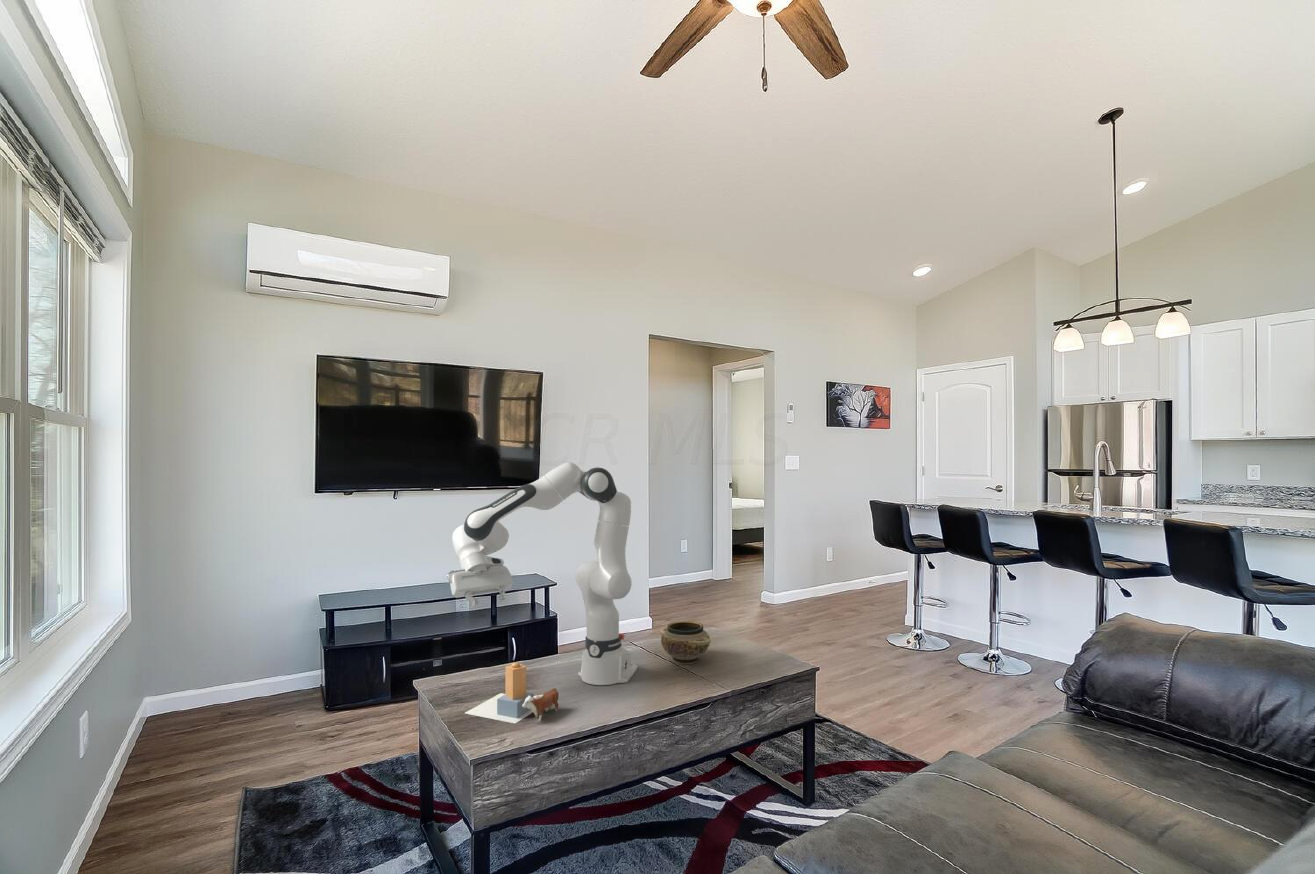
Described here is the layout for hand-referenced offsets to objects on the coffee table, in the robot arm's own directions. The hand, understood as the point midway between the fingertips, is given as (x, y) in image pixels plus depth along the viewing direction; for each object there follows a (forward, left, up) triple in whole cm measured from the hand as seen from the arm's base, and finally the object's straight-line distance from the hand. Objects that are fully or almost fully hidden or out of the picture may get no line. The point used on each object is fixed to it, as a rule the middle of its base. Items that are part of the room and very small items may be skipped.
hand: (489, 602), depth 203 cm
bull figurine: (+8, +25, -30) cm, 40 cm away
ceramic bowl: (-57, +44, -30) cm, 78 cm away
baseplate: (+7, +12, -29) cm, 33 cm away
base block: (+9, +16, -28) cm, 34 cm away
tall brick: (+9, +17, -24) cm, 30 cm away
